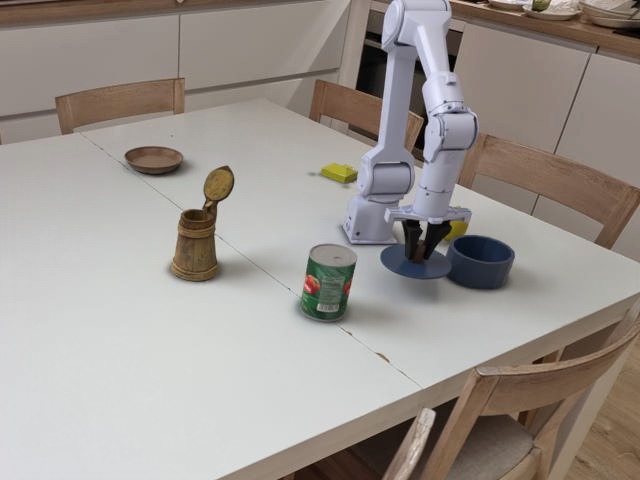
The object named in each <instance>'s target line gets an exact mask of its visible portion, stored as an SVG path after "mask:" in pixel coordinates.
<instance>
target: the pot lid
mask: <svg viewBox="0 0 640 480" xmlns="http://www.w3.org/2000/svg"><path fill="white" fill-rule="evenodd" d="M427 244H428V243H427V242H426V241H425V239H420V238H419V240H418V243H417V245H416V249H415V253H414V256H413V259H412V260H408V259H407V258H406V256H405V243H398V244H397V243H396V244H391V245H389V246H387V247H385V248H383V250H382V251H381V252H380V255H379V260H380V262H381V264H382V266H384V267H385V268H386V269H387V270H389V271H391V272H392V273H394V274H397V275H399V276H402V277H404V278H409V279H413V280H423V281H430V280H431V281H433V280H439V279H442V278H444V277H446V275H448V274H449V273H450V271H451V267H452V266H451V262H450V261H449V259H448V258H447V257H446V255H444V254H443V252H442V253H441V252H440V251H438V250H436V249H434V251H433V252H432V254H431V256H430V257H429V259H428V260H424V255H425V251H426V248H427Z"/></svg>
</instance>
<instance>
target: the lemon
mask: <svg viewBox="0 0 640 480" xmlns="http://www.w3.org/2000/svg"><path fill="white" fill-rule="evenodd" d="M456 207H460V208H462V206H459V205H457V206H456ZM469 224H470V223H464V222H462V221H450V225H451V226H452V229H451V232H450V233H449V234H448V235H447V236H445V237H444V238H443V239H442V240H445V242H446V243H448V244H449V243H450V241H451V240H452V239H453V238H455V237H457V236H461V235H466V233H467V231H468V228H469Z"/></svg>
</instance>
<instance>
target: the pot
mask: <svg viewBox="0 0 640 480" xmlns="http://www.w3.org/2000/svg"><path fill="white" fill-rule="evenodd" d="M445 256H446V257H447V258H448V259H449V261H450V262H451V266H452V267H451V271H450V273H449V274H448V275H446V276H445V277H446V278H447V279H448V280H449V281H451V282H453V283H455V284H456V285H459V286H461V287H464V288H468V289H472V290H473V289H474V290H478V291H479V290H481V291H489V290H497V289H499V288H502V286H504V285H505V283H506V282H507V279H508V278H509V277H508V276H509V275H510V273H511V270H512V266H513V264H514V262H515V261H514V260H515V259H516V252H515V250H514V249H513V248H512V247H511V246H510V245H509V244H507V243H505V242H503V241H501V240H499V239H497V238H493V237H490V236H486V235H479V234H464V235H461V236H457V237H455V238H453V239H452V240H451V241H450V243H448V247H447V250H446V253H445Z"/></svg>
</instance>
